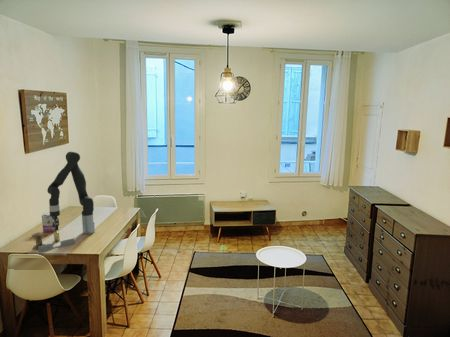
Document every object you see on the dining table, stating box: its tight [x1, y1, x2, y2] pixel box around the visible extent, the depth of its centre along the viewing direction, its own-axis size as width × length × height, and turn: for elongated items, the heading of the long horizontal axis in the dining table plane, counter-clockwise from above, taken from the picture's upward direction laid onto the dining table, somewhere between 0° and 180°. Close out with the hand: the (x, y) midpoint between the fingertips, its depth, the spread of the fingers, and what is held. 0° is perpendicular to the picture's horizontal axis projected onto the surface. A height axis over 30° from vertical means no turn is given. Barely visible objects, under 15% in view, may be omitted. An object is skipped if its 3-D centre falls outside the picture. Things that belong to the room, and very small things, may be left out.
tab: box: [53, 230, 61, 243], centre depth 271 cm, size 4×4×8 cm
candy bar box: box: [41, 213, 59, 233], centre depth 292 cm, size 11×5×16 cm, turn 99°
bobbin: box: [31, 231, 46, 251], centre depth 259 cm, size 9×9×11 cm
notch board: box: [37, 237, 75, 253], centre depth 260 cm, size 26×2×4 cm, turn 130°
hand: (55, 228), depth 270 cm, fingers open, 8 cm apart
